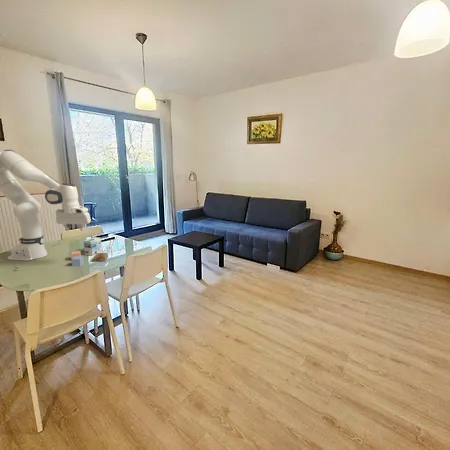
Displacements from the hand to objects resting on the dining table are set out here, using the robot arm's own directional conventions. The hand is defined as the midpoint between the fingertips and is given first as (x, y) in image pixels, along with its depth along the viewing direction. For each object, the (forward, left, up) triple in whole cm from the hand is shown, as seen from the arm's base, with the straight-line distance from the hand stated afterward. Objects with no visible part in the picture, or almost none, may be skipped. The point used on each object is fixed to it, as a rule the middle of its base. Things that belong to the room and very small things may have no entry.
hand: (75, 230), depth 162 cm
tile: (+15, -3, -23) cm, 28 cm away
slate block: (0, -2, -23) cm, 23 cm away
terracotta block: (-5, +8, -23) cm, 25 cm away
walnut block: (+12, +6, -23) cm, 27 cm away
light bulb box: (+2, +20, -23) cm, 31 cm away
